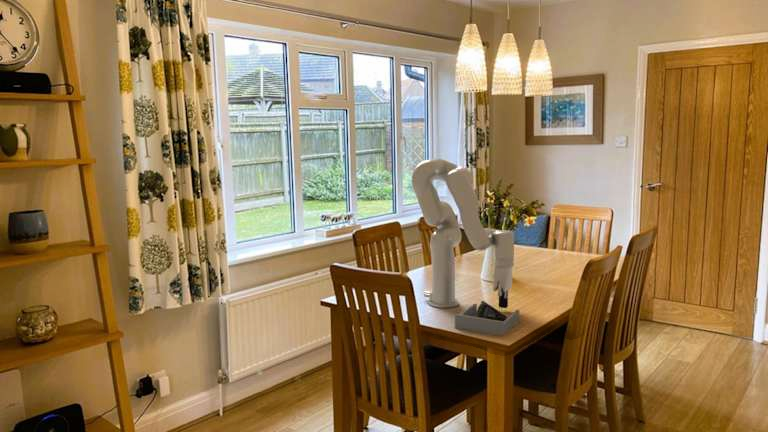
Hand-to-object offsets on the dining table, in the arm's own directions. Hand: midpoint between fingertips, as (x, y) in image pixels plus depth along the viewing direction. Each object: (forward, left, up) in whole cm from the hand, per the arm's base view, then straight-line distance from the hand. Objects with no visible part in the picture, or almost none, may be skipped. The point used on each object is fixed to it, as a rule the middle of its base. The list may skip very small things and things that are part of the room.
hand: (503, 307), depth 228 cm
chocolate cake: (0, -11, -2) cm, 11 cm away
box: (0, -17, -2) cm, 17 cm away
